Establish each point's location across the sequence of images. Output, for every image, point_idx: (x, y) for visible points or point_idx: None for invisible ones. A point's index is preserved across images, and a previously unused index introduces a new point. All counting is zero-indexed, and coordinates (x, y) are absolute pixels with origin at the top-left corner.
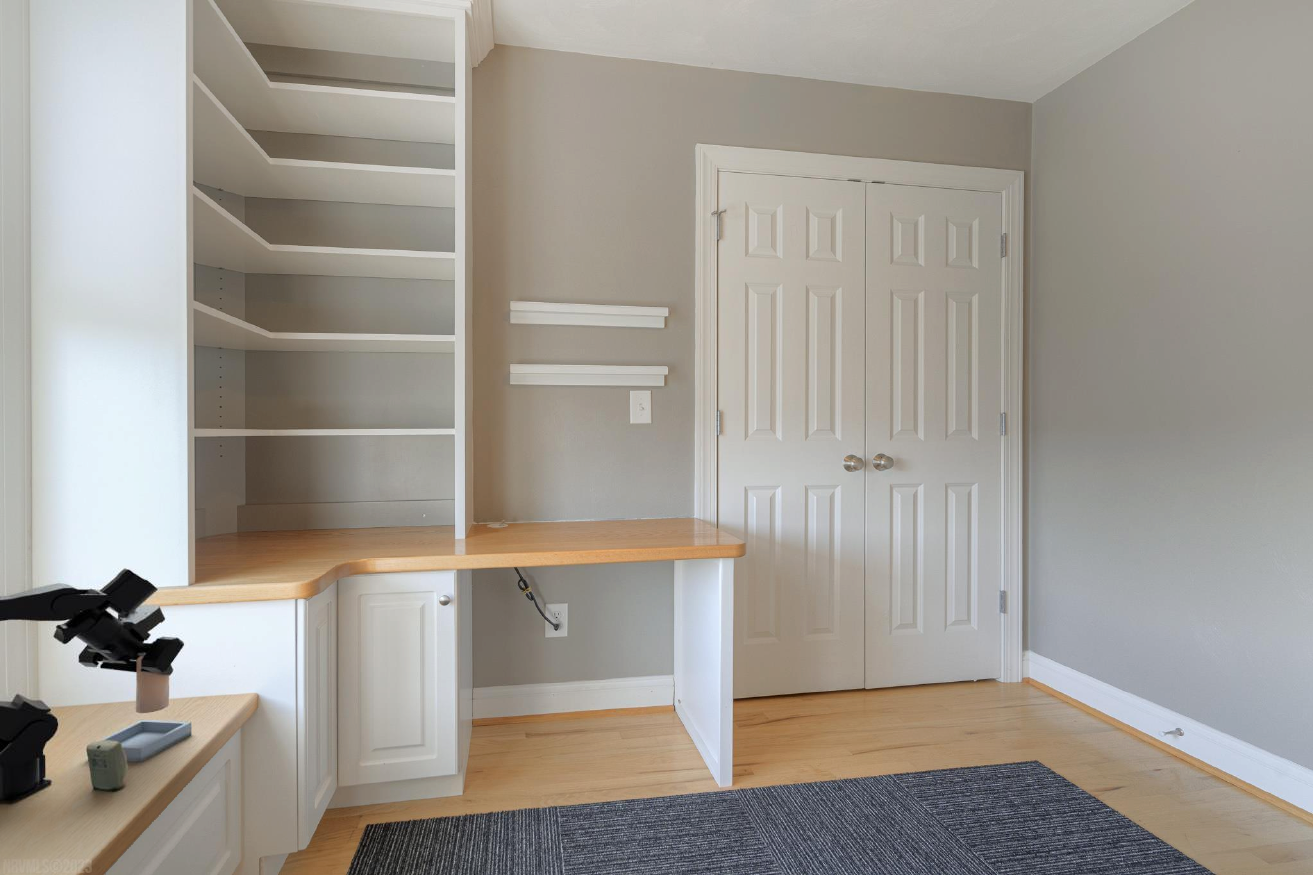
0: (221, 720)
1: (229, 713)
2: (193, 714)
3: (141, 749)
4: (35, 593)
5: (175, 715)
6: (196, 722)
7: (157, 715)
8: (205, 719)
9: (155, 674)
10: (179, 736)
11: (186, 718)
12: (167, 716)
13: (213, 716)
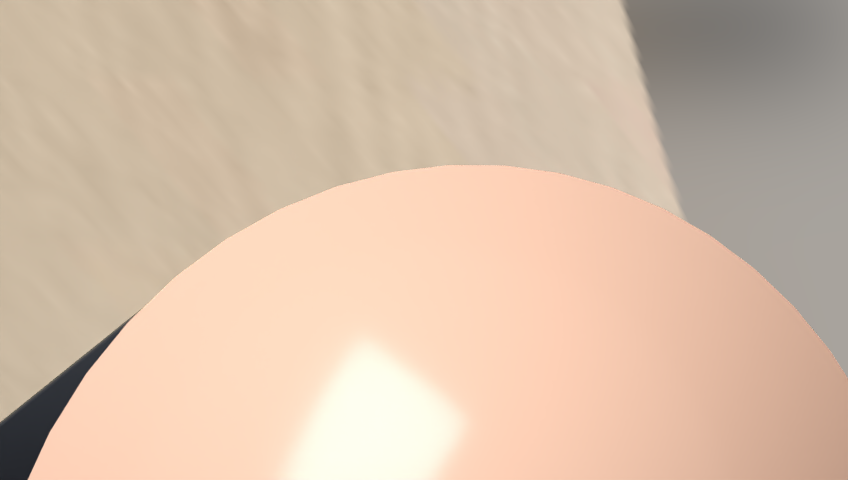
0: (619, 125)
1: (592, 17)
2: (346, 27)
3: None
4: None
5: (222, 41)
6: (470, 156)
7: (78, 39)
8: (497, 109)
9: None
10: None
11: (346, 92)
12: (173, 57)
13: (517, 62)
